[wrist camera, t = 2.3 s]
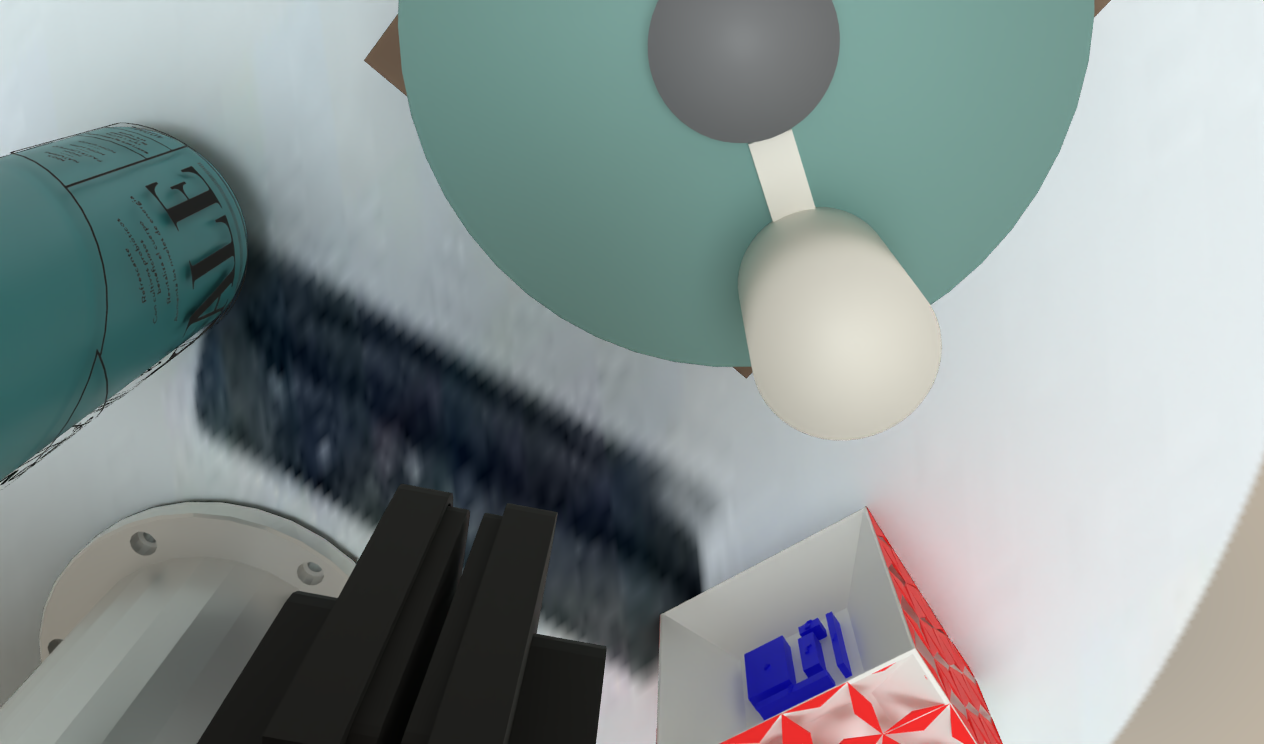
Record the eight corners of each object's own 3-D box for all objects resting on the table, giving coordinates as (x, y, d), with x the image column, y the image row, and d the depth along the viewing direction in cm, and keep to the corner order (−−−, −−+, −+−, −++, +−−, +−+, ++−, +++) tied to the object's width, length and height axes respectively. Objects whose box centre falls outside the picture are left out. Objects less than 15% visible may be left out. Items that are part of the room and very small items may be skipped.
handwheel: (756, 457, 28) (777, 589, 22) (288, 76, 26) (166, 109, 19) (1212, -1, 24) (1392, 9, 18) (711, -523, 21) (724, -723, 15)
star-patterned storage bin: (776, 773, 39) (798, 962, 32) (659, 613, 37) (654, 775, 29) (977, 678, 37) (1051, 853, 30) (868, 503, 35) (918, 647, 28)
